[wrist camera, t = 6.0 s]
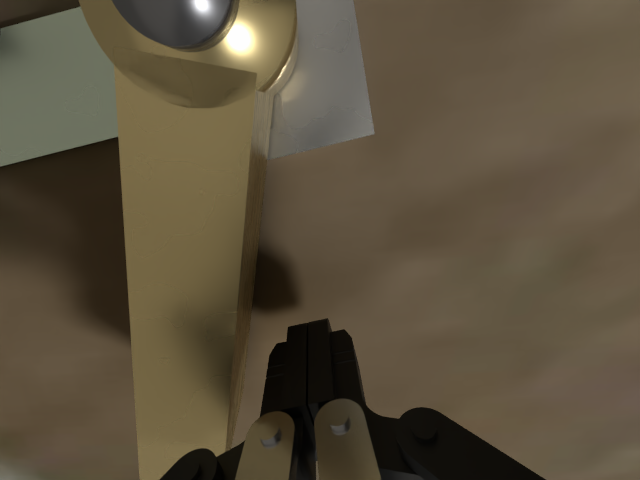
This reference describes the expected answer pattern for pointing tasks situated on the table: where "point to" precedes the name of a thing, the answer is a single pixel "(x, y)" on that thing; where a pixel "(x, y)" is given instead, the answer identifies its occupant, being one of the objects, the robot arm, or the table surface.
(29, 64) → the base
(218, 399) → the latch bar
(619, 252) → the table surface
